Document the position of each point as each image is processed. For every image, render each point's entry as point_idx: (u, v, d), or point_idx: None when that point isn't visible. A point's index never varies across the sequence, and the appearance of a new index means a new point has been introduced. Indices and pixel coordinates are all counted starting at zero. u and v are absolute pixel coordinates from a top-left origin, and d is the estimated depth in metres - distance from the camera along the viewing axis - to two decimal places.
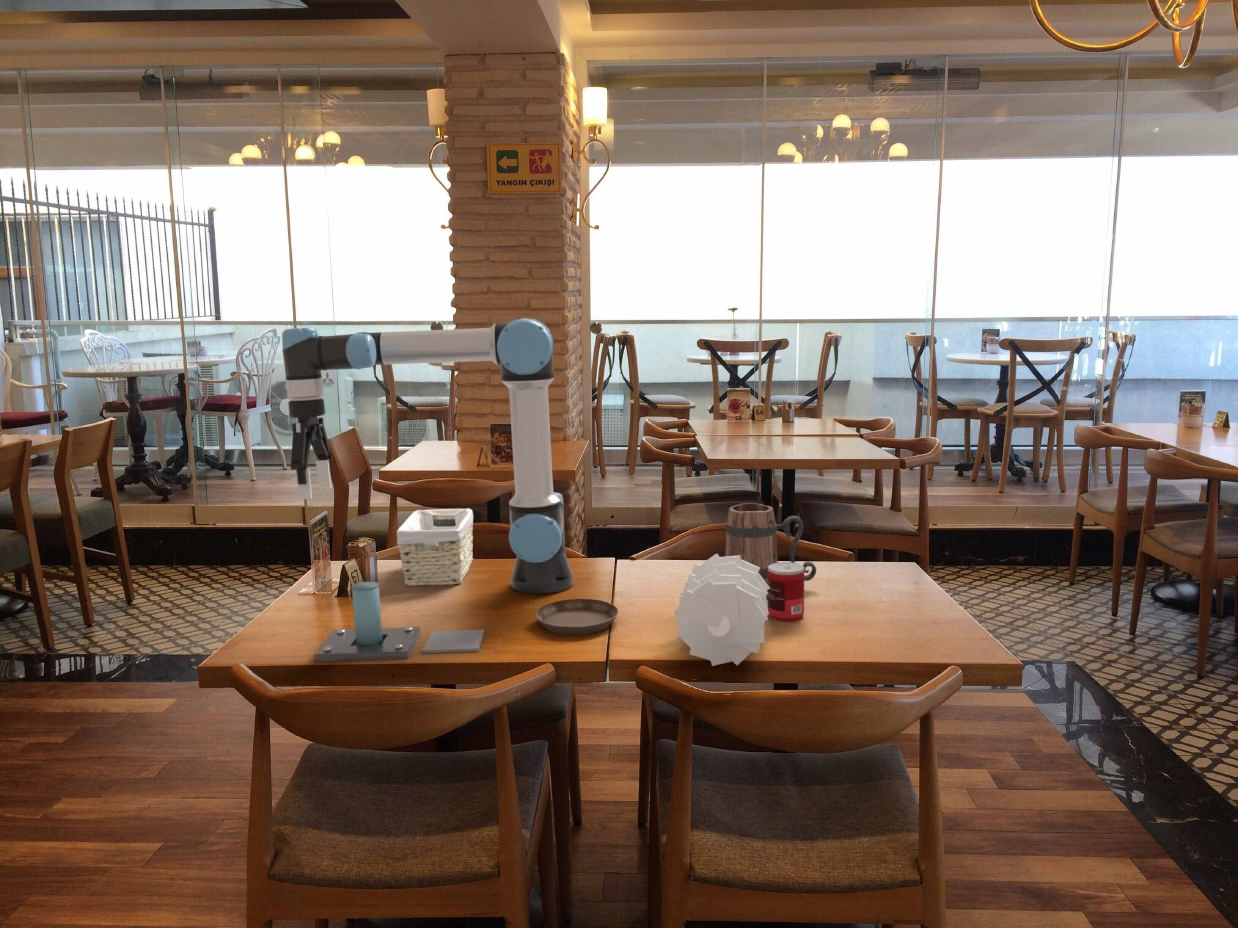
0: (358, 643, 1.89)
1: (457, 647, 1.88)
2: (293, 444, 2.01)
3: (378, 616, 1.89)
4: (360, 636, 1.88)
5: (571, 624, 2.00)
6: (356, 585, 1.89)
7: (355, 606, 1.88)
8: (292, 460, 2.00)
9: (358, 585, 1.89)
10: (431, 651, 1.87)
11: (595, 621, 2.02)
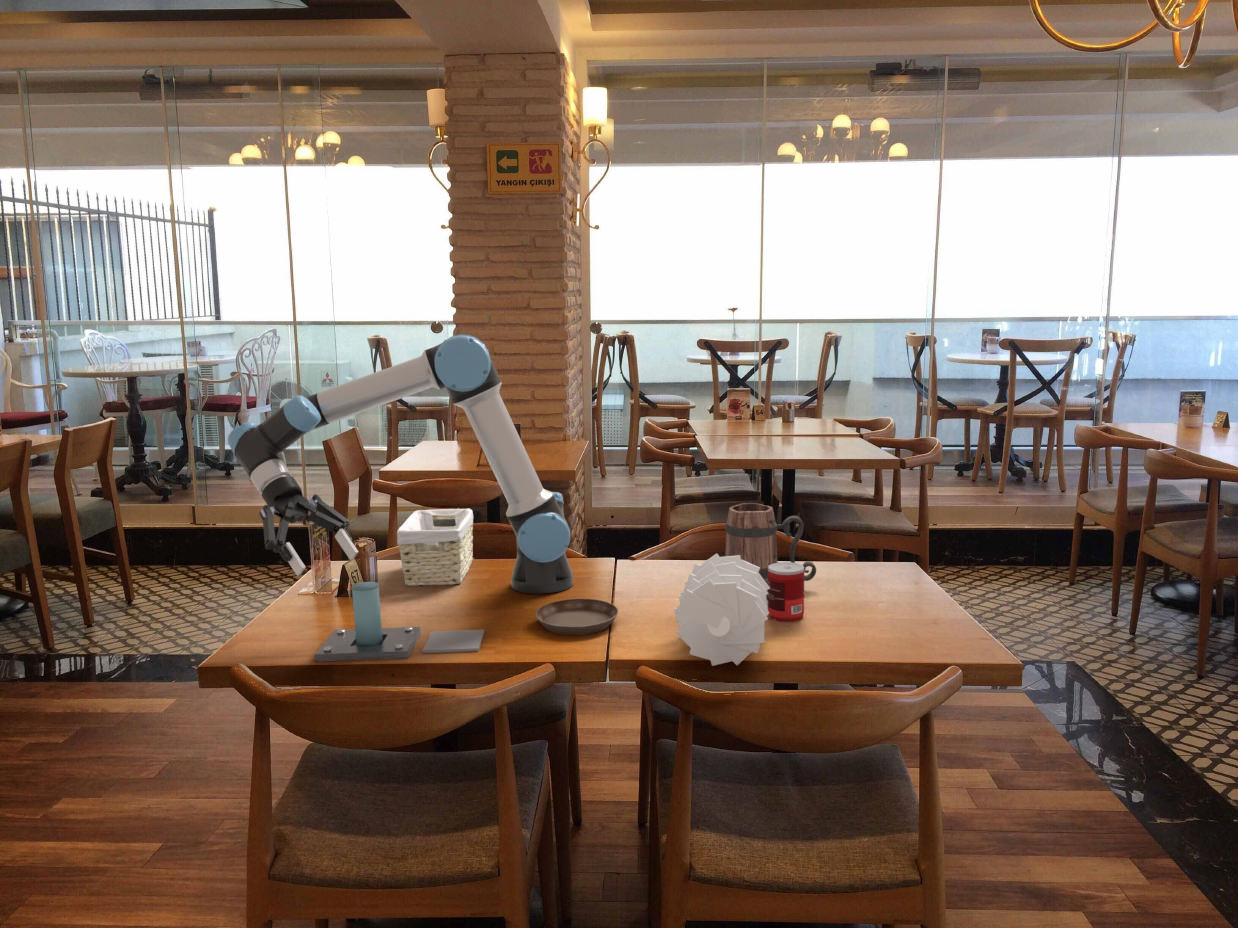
0: (358, 643, 1.89)
1: (457, 647, 1.88)
2: (264, 529, 1.91)
3: (378, 616, 1.89)
4: (360, 636, 1.88)
5: (571, 624, 2.00)
6: (356, 585, 1.89)
7: (355, 606, 1.88)
8: (265, 543, 1.89)
9: (358, 585, 1.89)
10: (431, 651, 1.87)
11: (595, 621, 2.02)
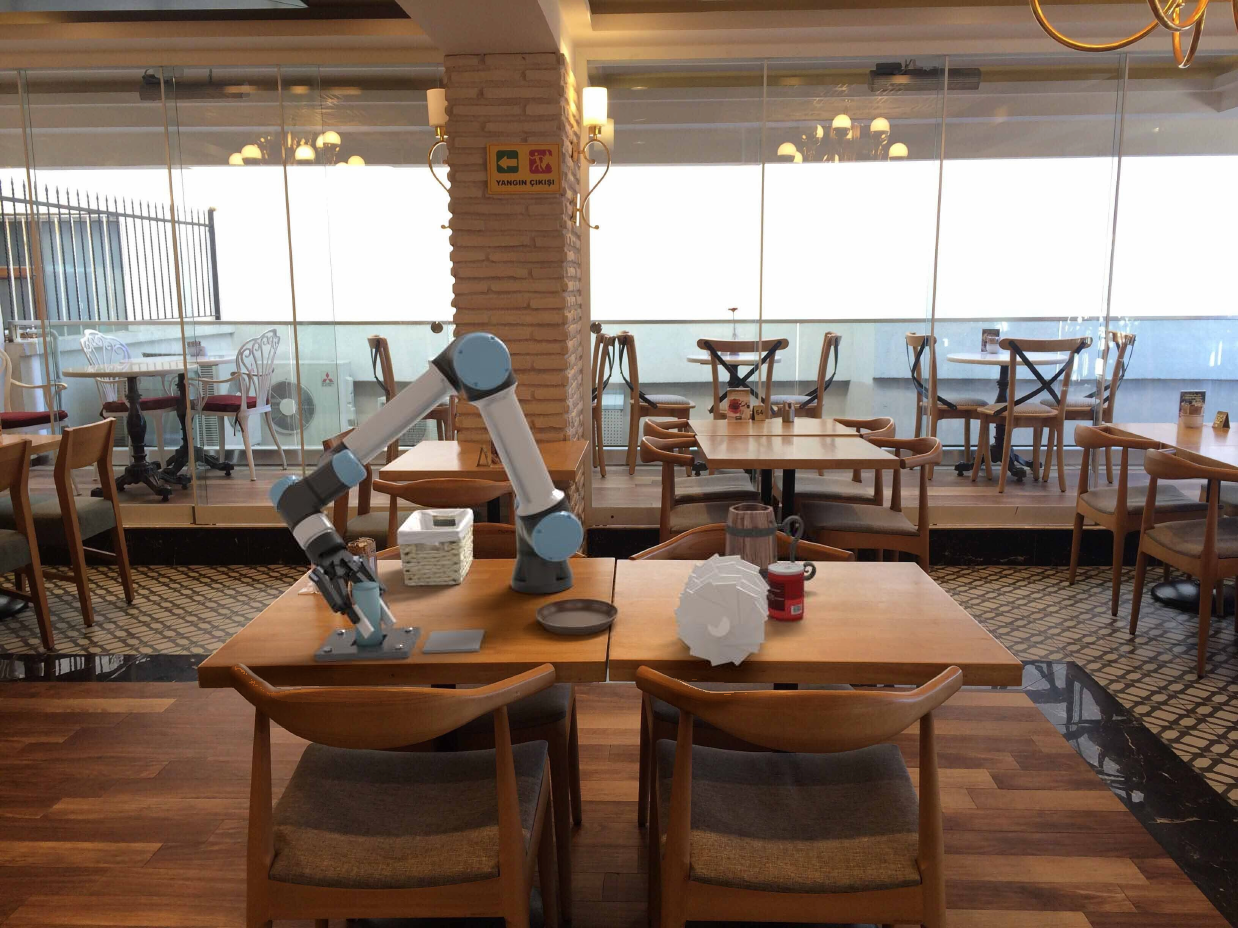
0: (358, 643, 1.89)
1: (457, 647, 1.88)
2: (322, 592, 1.87)
3: (378, 616, 1.89)
4: (360, 636, 1.88)
5: (571, 624, 2.00)
6: (356, 585, 1.89)
7: None
8: (331, 607, 1.86)
9: (358, 585, 1.89)
10: (431, 651, 1.87)
11: (595, 621, 2.02)
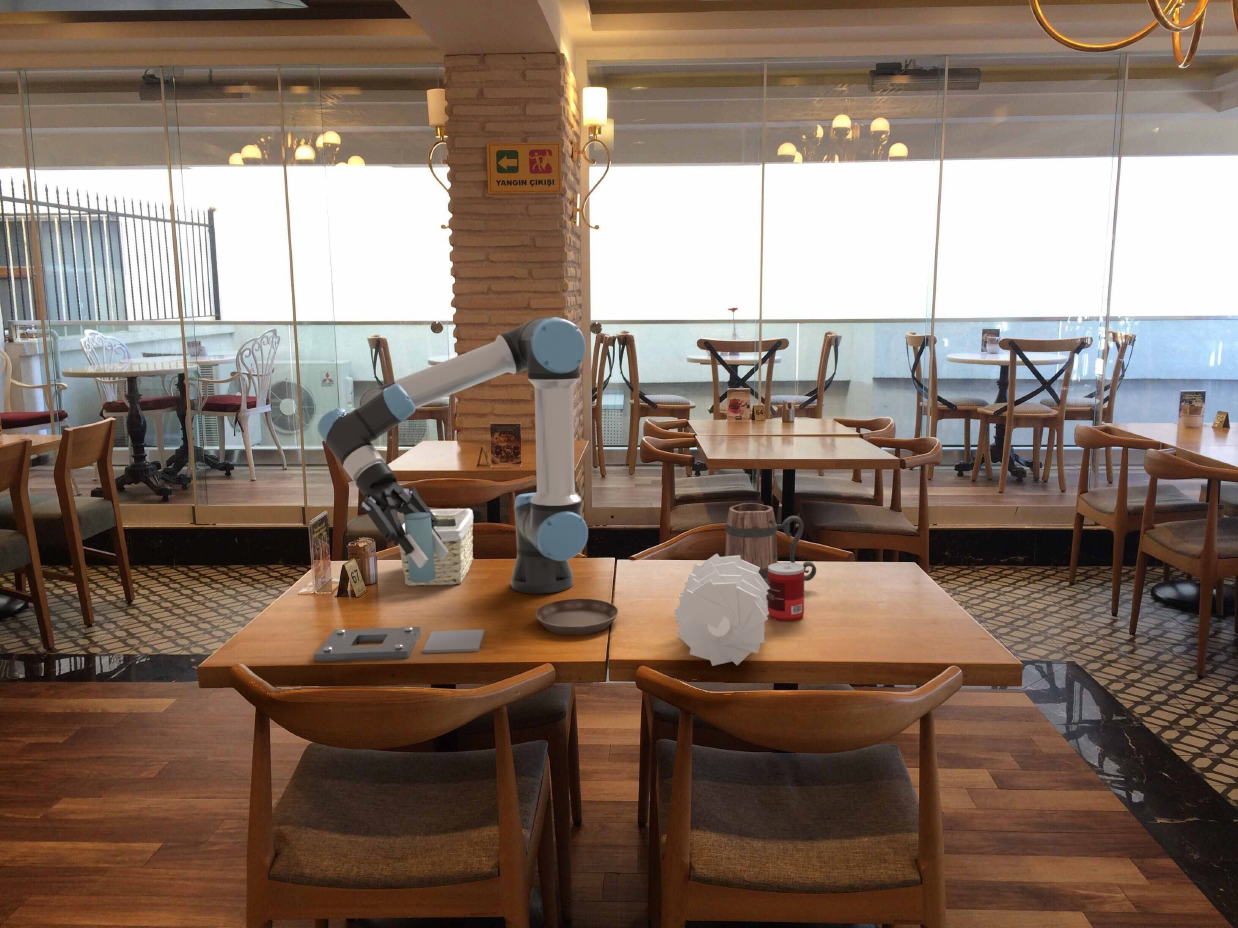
0: (411, 573, 1.87)
1: (457, 647, 1.88)
2: (374, 522, 1.85)
3: (431, 546, 1.87)
4: (413, 566, 1.87)
5: (571, 624, 2.00)
6: (408, 515, 1.87)
7: None
8: (384, 536, 1.84)
9: (410, 515, 1.87)
10: (431, 651, 1.87)
11: (595, 621, 2.02)
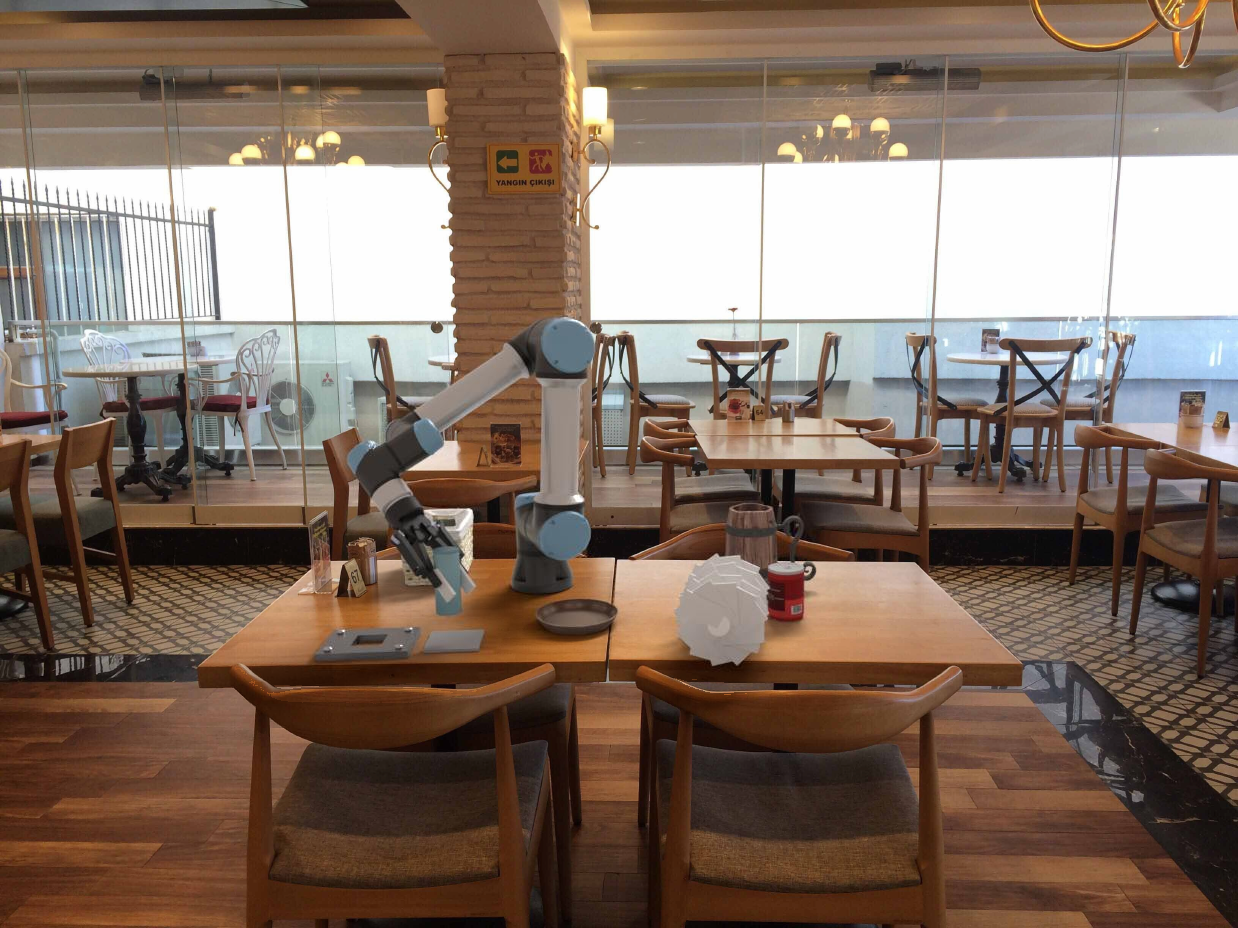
0: (438, 607, 1.89)
1: (457, 647, 1.88)
2: (403, 556, 1.87)
3: (458, 580, 1.89)
4: (441, 600, 1.88)
5: (571, 624, 2.00)
6: (436, 549, 1.89)
7: None
8: (413, 570, 1.86)
9: (438, 549, 1.89)
10: (431, 651, 1.87)
11: (595, 621, 2.02)
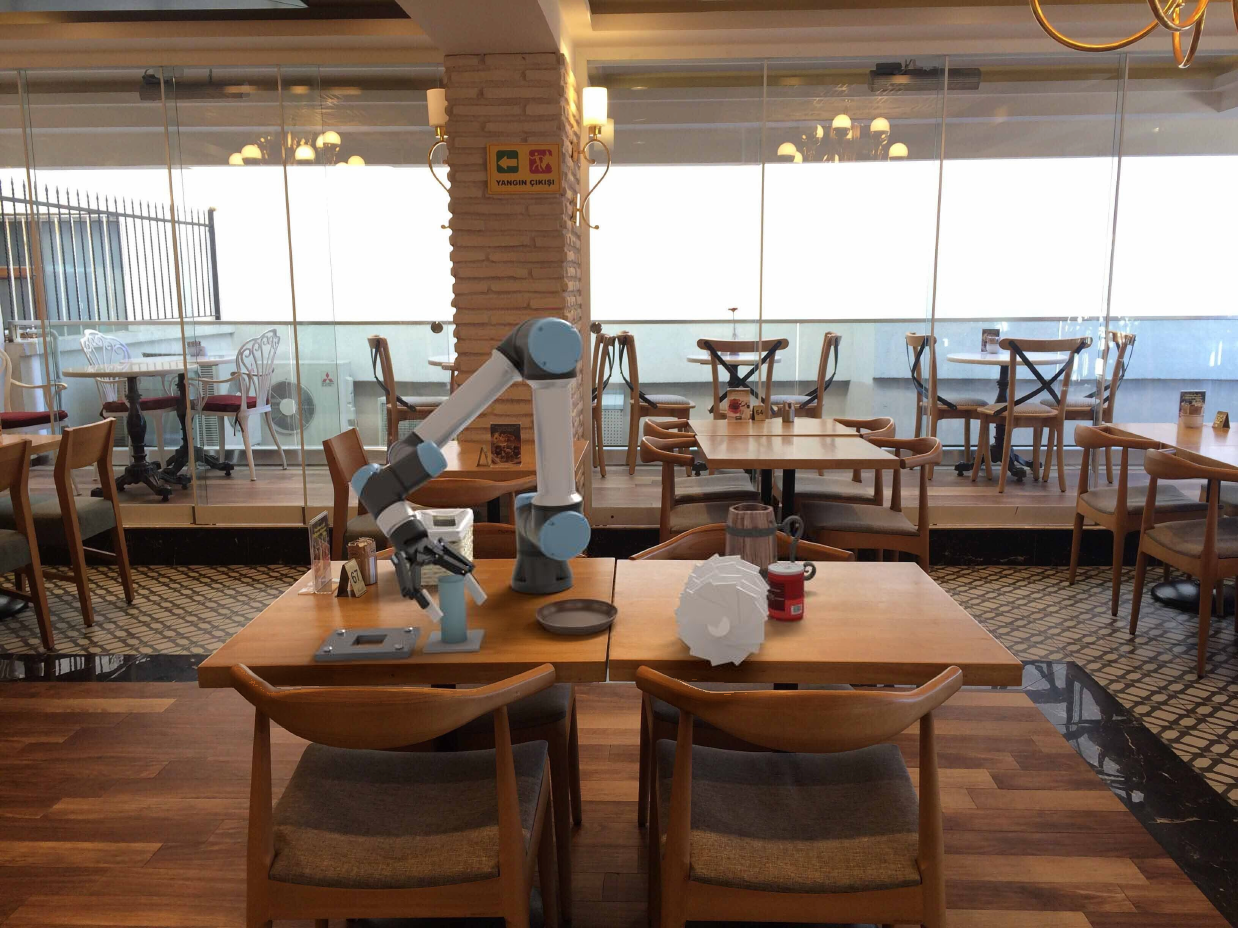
0: (444, 635, 1.90)
1: (457, 647, 1.88)
2: (397, 575, 1.87)
3: (464, 608, 1.90)
4: (446, 628, 1.89)
5: (571, 624, 2.00)
6: (441, 578, 1.90)
7: (441, 598, 1.89)
8: (401, 590, 1.85)
9: (443, 578, 1.90)
10: (431, 651, 1.87)
11: (595, 621, 2.02)
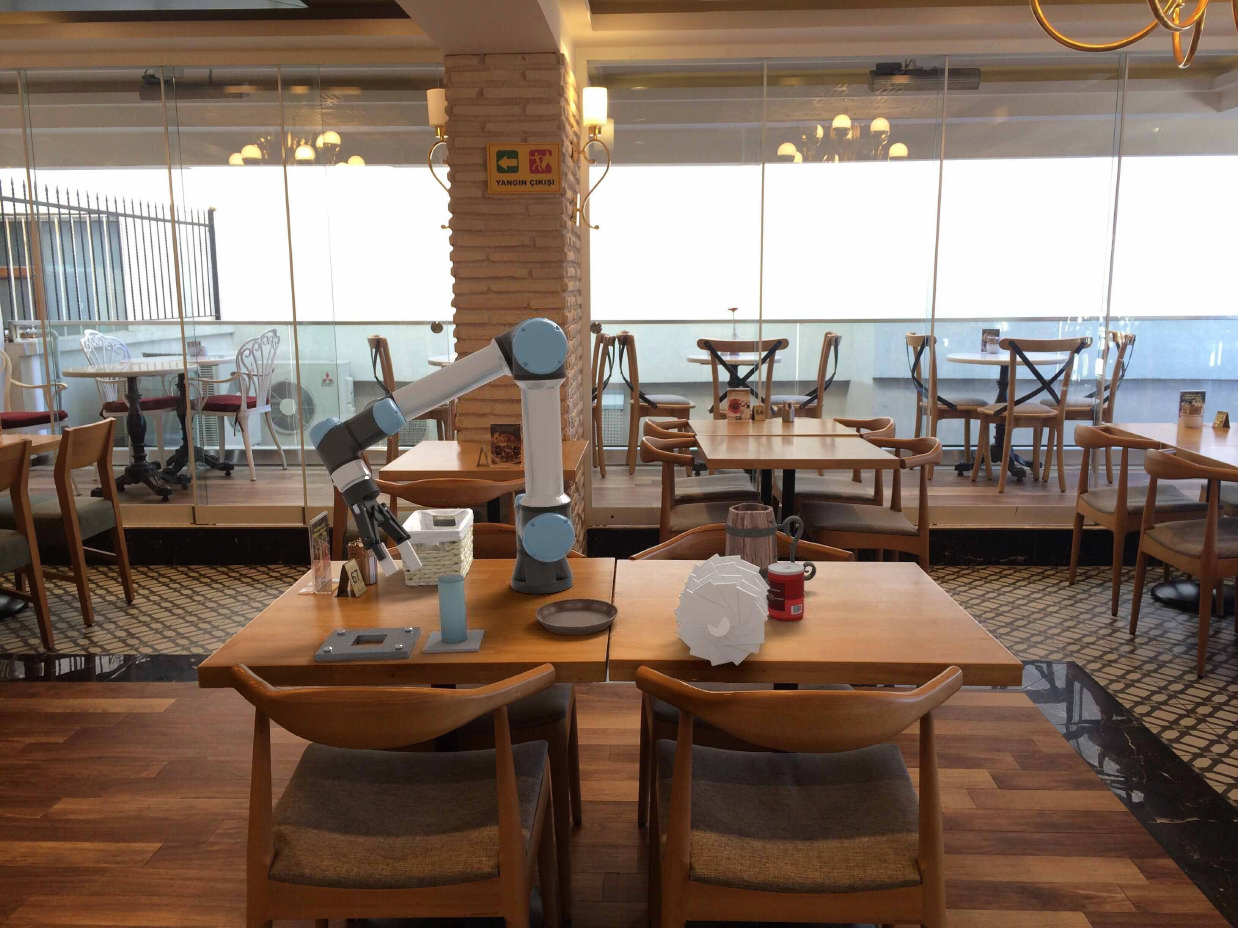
0: (444, 635, 1.90)
1: (457, 647, 1.88)
2: (357, 525, 1.92)
3: (464, 608, 1.90)
4: (446, 628, 1.89)
5: (571, 624, 2.00)
6: (441, 578, 1.90)
7: (441, 598, 1.89)
8: (362, 539, 1.91)
9: (443, 578, 1.90)
10: (431, 651, 1.87)
11: (595, 621, 2.02)
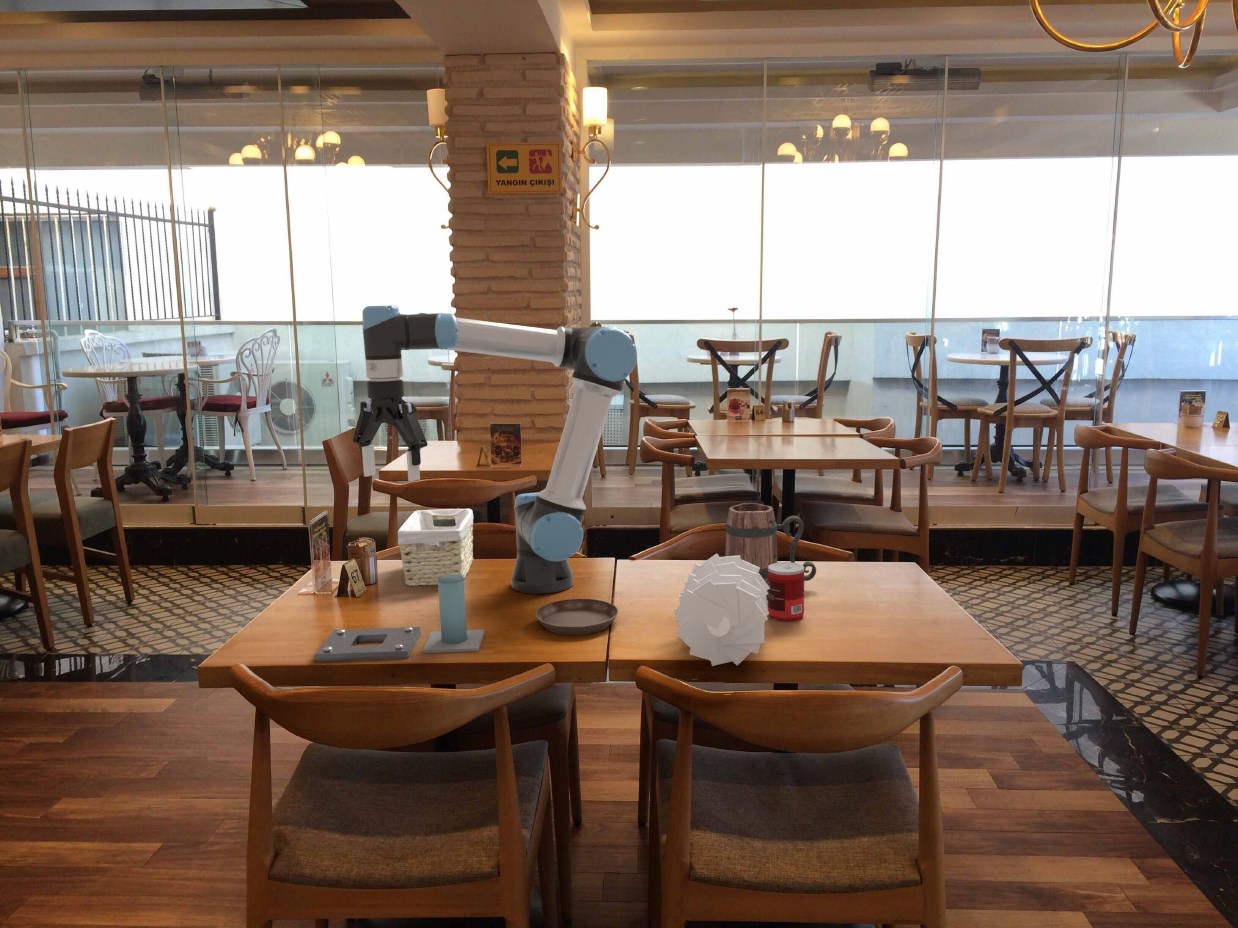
0: (444, 635, 1.90)
1: (457, 647, 1.88)
2: (411, 424, 1.95)
3: (464, 608, 1.90)
4: (446, 628, 1.89)
5: (571, 624, 2.00)
6: (441, 578, 1.90)
7: (441, 598, 1.89)
8: (418, 440, 1.95)
9: (443, 578, 1.90)
10: (431, 651, 1.87)
11: (595, 621, 2.02)
